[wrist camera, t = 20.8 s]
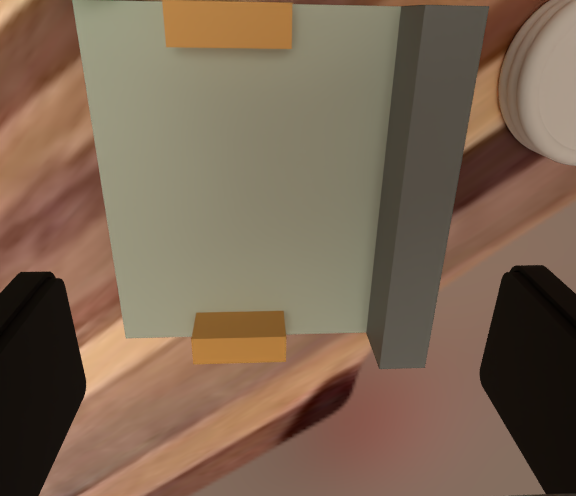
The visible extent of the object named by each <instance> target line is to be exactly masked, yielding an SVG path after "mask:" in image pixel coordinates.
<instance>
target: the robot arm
mask: <svg viewBox="0 0 576 496" xmlns="http://www.w3.org/2000/svg"><path fill="white" fill-rule="evenodd" d="M480 381H481V384H482V386H483V388H484V390H485V392H486V393H487V395H488V397H489V398H490V400H491V402H492V404H493V405H494V407H495V408H496V410H497V412H498V414H499V415H500V417H501V419H502V420H503V422H504V424H505V425H506V427H507V429H508V431H509V432H510V434H511V436H512V437H513V439H514V441H515V442H516V444H517V446H518V448H519V449H520V451H521V453H522V454H523V456H524V458H525V459H526V461H527V463H528V464H529V466H530V468H531V470H532V471H533V473H534V475H535V476H536V478H537V480H538V481H539V483H540V485H541V486H542V488H543V490H544V491H545V493H546V494H542V495H511V496H576V294H575V293H574V292H573V291H572V290H571V289H570V288H568V287H567V286H566V285H565V284H564V283H563V282H562V281H561V280H560V279H559V278H557V277H556V276H555V275H554V274H553V273H552V272H551V271H550V270H548V269H547V268H546V267H545V266H543V265H528V266H514V267H512V269H511V270H510V272H506V273H505V274H504V275H503V277H502V280H501V284H500V288H499V293H498V296H497V301H496V305H495V309H494V313H493V317H492V321H491V325H490V330H489V334H488V338H487V342H486V346H485V350H484V354H483V359H482V363H481V367H480ZM85 391H86V378H85V373H84V369H83V364H82V360H81V355H80V351H79V346H78V342H77V338H76V333H75V329H74V324H73V320H72V315H71V311H70V306H69V302H68V297H67V293H66V288H65V284H64V282H63V280H62V279H60V278H55V276H54V274H53V273H52V272H20V273H19V274H17V276H16V277H15V278H14V279H13V280H12V281H11V282H10V283H9V284H8V285H7V286H6V287H5V289H4V290H3V291H2V292H1V293H0V496H39V494H40V491H41V489H42V487H43V485H44V483H45V480H46V478H47V476H48V474H49V472H50V470H51V467H52V465H53V463H54V461H55V459H56V457H57V454H58V452H59V450H60V448H61V446H62V443H63V441H64V439H65V437H66V435H67V433H68V430H69V428H70V426H71V424H72V422H73V419H74V417H75V415H76V413H77V411H78V409H79V406H80V404H81V402H82V400H83V398H84V395H85Z"/></svg>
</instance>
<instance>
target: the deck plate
mask: <svg viewBox="0 0 576 496" xmlns="http://www.w3.org/2000/svg"><path fill="white" fill-rule="evenodd" d="M72 2H73V8H74V14H75V21H76V27H77V33H78V40H79V46H80V52H81V59H82V65H83V71H84V77H85V84H86V90H87V96H88V103H89V109H90V115H91V122H92V128H93V134H94V141H95V147H96V153H97V160H98V166H99V172H100V178H101V185H102V191H103V197H104V204H105V210H106V216H107V223H108V229H109V235H110V242H111V248H112V254H113V261H114V267H115V273H116V279H117V286H118V292H119V298H120V305H121V311H122V317H123V324H124V330H125V336H126V338H159V337H192V338H191V342H192V354H193V364H222V363H257V362H286V334H321V333H362V332H366V333H367V336H368V339H369V341H370V344H371V347H372V350H373V353H374V355H375V358H376V361H377V364H378V367H379V369H397V368H425V364H426V358H427V352H428V347H429V341H430V335H431V330H432V324H433V319H434V313H435V308H436V302H437V296H438V291H439V285H440V280H441V274H442V268H443V263H444V257H445V251H446V246H447V240H448V235H449V229H450V223H451V218H452V212H453V206H454V201H455V195H456V190H457V184H458V178H459V173H460V167H461V162H462V156H463V150H464V145H465V139H466V133H467V128H468V122H469V117H470V111H471V105H472V100H473V94H474V88H475V83H476V77H477V72H478V66H479V60H480V55H481V49H482V44H483V38H484V32H485V27H486V21H487V15H488V10H489V6H451V5H417V6H354V5H306V4H293V3H281V2H233V1H185V0H162V2H161V1H112V0H72Z"/></svg>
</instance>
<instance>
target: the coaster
mask: <svg viewBox="0 0 576 496" xmlns="http://www.w3.org/2000/svg"><path fill="white" fill-rule="evenodd" d="M498 93H499V104H500V109H501V113H502V116H503V119H504V121H505V123H506V125H507V127H508V129H509V130H510V132H511V133H512V134H513V136H514V137H515V138H516V139H517V140H518V141H519V142H520V143H521V144H523V145H524V146H525V147H527V148H528V149H530V150H532V151H535V152H537V153H538V154H541V155H543V156H545V157H547V158H549V159H551V160H553V161H555V162H558V163H562V164H565V165H573V166H576V0H550V1H548V2H547V3H545V4H544V5H542V6H541V7H540V8H539V9H538V10H537V11H536V12H534V13H533V14H532V15H531V17H530V18H529V19H528V20H527V21H526V22H525V23H524V24H523V26H522V27H521V28H520V30H519V31H518V32H517V34H516V36H515V37H514V39H513V40H512V42H511V44H510V46H509V48H508V50H507V53H506V55H505V58H504V61H503V64H502V68H501V72H500V77H499V87H498Z"/></svg>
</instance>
